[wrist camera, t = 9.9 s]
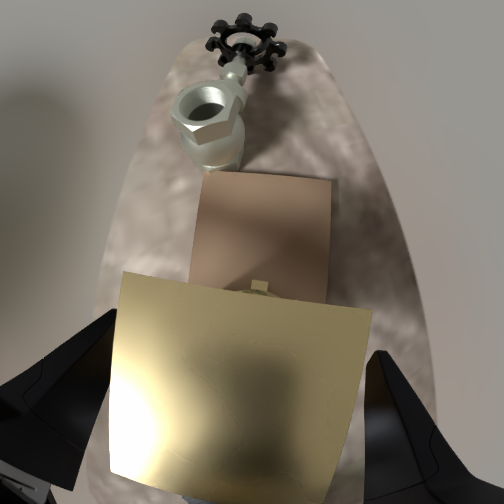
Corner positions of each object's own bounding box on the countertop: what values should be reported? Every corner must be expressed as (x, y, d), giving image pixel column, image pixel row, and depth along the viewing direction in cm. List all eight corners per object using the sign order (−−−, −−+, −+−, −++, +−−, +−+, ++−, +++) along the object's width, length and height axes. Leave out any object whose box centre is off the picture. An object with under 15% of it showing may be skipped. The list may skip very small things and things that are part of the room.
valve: (257, 191, 20) (285, 73, 22) (254, 141, 13) (289, 16, 15) (170, 176, 20) (214, 65, 22) (136, 129, 14) (202, 12, 16)
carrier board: (292, 495, 15) (293, 503, 14) (180, 482, 16) (176, 489, 15) (328, 186, 19) (332, 179, 18) (207, 176, 20) (203, 169, 19)
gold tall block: (299, 400, 16) (346, 532, 4) (188, 382, 16) (81, 481, 5) (317, 290, 17) (418, 265, 5) (203, 273, 17) (96, 219, 6)
